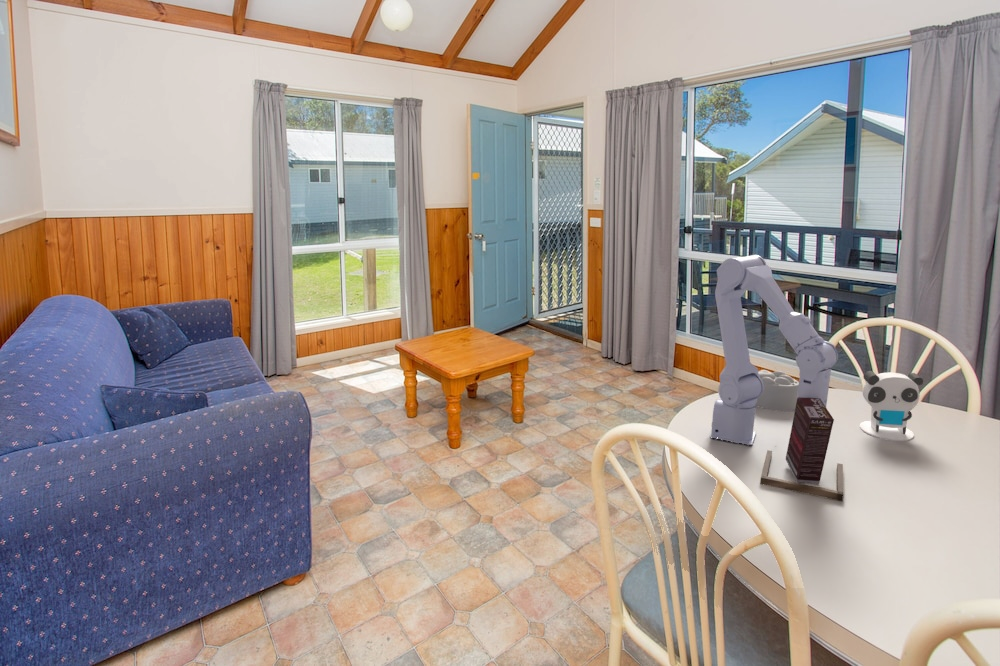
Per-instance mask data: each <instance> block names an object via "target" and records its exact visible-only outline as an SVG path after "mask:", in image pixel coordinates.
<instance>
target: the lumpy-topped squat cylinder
mask: <svg viewBox="0 0 1000 666" xmlns="http://www.w3.org/2000/svg"><path fill="white" fill-rule="evenodd" d="M758 374H759V376H760V378H761V380H762V382H763V384H764V391H763V393H762V395H761V396H760V397H758V398H757V402H756V407H757V406H759V407H758V408H761V407H763V408H762V409H764V408H766V409H765V410H769V409H771V410H770V411H775V410H777V411H778V412H793V411H794V412H795V408H796V403H797V395H798V386H799V380H796V378H792V376H791V375H789V374H786V373H785V372H784V371H782V370H775V371H773V372H772V371H769V370H767V369H760V370H758ZM777 411H776V412H777Z"/></svg>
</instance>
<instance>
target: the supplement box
mask: <svg viewBox="0 0 1000 666" xmlns="http://www.w3.org/2000/svg"><path fill="white" fill-rule="evenodd" d="M834 421H835V419H834V418H833V416H832V414H831V413H830V412H829V410H828V408H827V406H826V407H825V405H824V404H823V402H822V401H821V399H818V398H799V397H798V398H797V403H796V408H795V410H794V414H793V419H792V424H791V430H790V435H789V439H788V444H787V445H788V446H787V451H786V456H785V461H786V463H787V465H788V468H789V469H790V472H791V474H792V475H793V478H794V481H795V482H796V483H801V484H809V485H810V484H811V485H819V484H820V483H821V478H822V473H823V468H824V465H825V460H826V456H827V453H828V446H829V443H830V438H831V434H832V430H833V424H834Z"/></svg>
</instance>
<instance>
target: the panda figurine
mask: <svg viewBox="0 0 1000 666" xmlns="http://www.w3.org/2000/svg"><path fill="white" fill-rule="evenodd" d="M863 379H864V381H865V384H864V386H863V387H862V388H863V390H862V396H863V398H864V400H865V402H866V403H867V404H869V406H870V408H871V411H870V412H871V413H870V414H871V415H870V420H865V421H862V422H860V424H859V429H860V430H861V431H862V432H863V433H865V434H867V435H869V436H871V437H874V438H877V439H881V440H886V441H893V442H906V441H907V442H908V441H910V440H913V438H914V436H915V435H914V434H915V433H914V432H913V431H912V430H910V429H909V428H907V423H908V421H909V420H911V418H912V417H913V414H912V412H911V411H912V410H914V409H915V408H916V406H918V403H919V400H920V389H919V386H921V385H923V383H924V380H923V378H922V377H921V376H919V375H918V374H917V373H916V372H910V373H909V374H908V375H906V374H904V373H899V372H881V373H877V374H876V373H875V372H874V371H872V370H868V371H865V372H864V374H863Z"/></svg>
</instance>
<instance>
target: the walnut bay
mask: <svg viewBox="0 0 1000 666" xmlns="http://www.w3.org/2000/svg"><path fill="white" fill-rule="evenodd" d="M772 455H773V451H772V450H768V449H767V451H766V455H765V458H764V463H763V467H762V471H761V475H760V482H759V484H760V485H763V484H764V485H765V486H768V487H771V488H772V487H773V488H777V489H782V490H786V491H787V490H788V491H792V492H796V493H801V494H807V495H811V496H814V497H815V496H816V497H819V498H820V497H821V498H826V499H830V500H835V501H839V502H843V499H844V465H843V463H838V462H837V463H836V464H837V465H836V490H834V489H830V488H825V487H822V486H821V487H820V486H816V485H812V484H811V485H810V484H807V483H798V482H796V481H792V480H791V481H790V480H786V479H781V478H777V477H771V476H768V474H769V471H770V470H769V469H770V466H771V461H772Z"/></svg>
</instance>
